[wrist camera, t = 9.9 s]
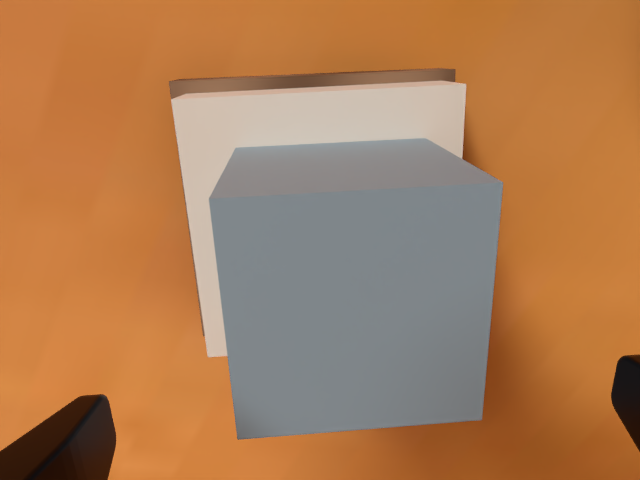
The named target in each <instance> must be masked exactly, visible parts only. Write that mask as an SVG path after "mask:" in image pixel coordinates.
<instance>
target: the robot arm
mask: <svg viewBox="0 0 640 480" xmlns="http://www.w3.org/2000/svg"><path fill="white" fill-rule="evenodd" d="M611 399H612V404H613V406H614V409H615V411H616V412H617V414H618V416H619V417H620V419H621V421H622V423H623V424H624V426H625V428H626V429H627V431H628V433H629V434H630V436H631V438H632V439H633V441H634V443H635V444H636V446H637V448H638V450H639V451H640V355H627V356H623V357H621V358H620V359H619V360H618V363H617V367H616V372H615V377H614V382H613V387H612V392H611ZM115 447H116V432H115V427H114V423H113V418H112V414H111V409H110V404H109V401H108V399H107V397H106V396H105V395H103V394H99V395H85V396H80V397H78V398H76V399H75V400H74V401H72V402H71V403H69V404H68V405H66V406H65V407H63V408H62V409H61V410H59V411H58V412H56V413H55V414H53V415H52V416H50V417H49V418H48V419H46V420H45V421H43V422H42V423H40V424H39V425H38V426H36V427H35V428H33V429H32V430H30V431H29V432H27V433H26V434H25V435H23V436H22V437H20V438H19V439H17V440H16V441H14V442H13V443H12V444H10V445H9V446H7V447H6V448H4V449H3V450H1V451H0V480H108V476H109V472H110V468H111V464H112V459H113V455H114V451H115Z"/></svg>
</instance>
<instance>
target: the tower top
mask: <svg viewBox="0 0 640 480" xmlns="http://www.w3.org/2000/svg"><path fill="white" fill-rule="evenodd" d="M465 99H466V84H463V83H456V82H449V81H423V82H404V83H385V84H365V85H346V86H326V87H307V88H288V89H268V90H249V91H229V92H210V93H190V94H184V95H181V96H179V97H176V98H173V99H171V101H172V108H173V115H174V122H175V130H176V137H177V144H178V151H179V158H180V165H181V172H182V179H183V186H184V193H185V200H186V207H187V214H188V221H189V228H190V235H191V242H192V249H193V256H194V263H195V270H196V277H197V284H198V291H199V298H200V305H201V312H202V319H203V326H204V333H205V340H206V347H207V354H208V357H217V356H228V355H227V347H226V339H225V330H224V322H223V314H222V305H221V297H220V289H219V280H218V272H217V263H216V255H215V247H214V238H213V230H212V222H211V213H210V205H209V197H210V195H211V194H212V192H213V190H214V188H215V186H216V184H217V182H218V180H219V178H220V176H221V175H222V173H223V171H224V169H225V167H226V165H227V163H228V161H229V159H230V157H231V156H232V154H233V152H234V150H235V148H239V147H259V146H279V145H299V144H318V143H338V142H358V141H378V140H398V139H417V138H426V139H428V140H430V141H432V142H433V143H435V144H437V145H439V146H440V147H442V148H444V149H446V150H447V151H449V152H451V153H453V154H454V155H456V156H458V157H460V158H461V159H462V156H463V137H464V118H465Z"/></svg>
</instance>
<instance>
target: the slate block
mask: <svg viewBox="0 0 640 480" xmlns="http://www.w3.org/2000/svg"><path fill="white" fill-rule="evenodd" d="M502 190H503V182H502V181H500V180H498V179H496V178H495V177H493V176H491V175H489V174H488V173H486V172H484V171H482V170H481V169H479V168H477V167H475V166H474V165H472V164H470V163H468V162H467V161H465V160H463V159H461V158H460V157H458V156H456V155H454V154H453V153H451V152H449V151H447V150H446V149H444V148H442V147H440V146H439V145H437V144H435V143H433V142H432V141H430V140H428V139H426V138H417V139H398V140H378V141H358V142H338V143H318V144H299V145H279V146H259V147H239V148H235V150H234V152H233V154H232V156H231V157H230V159H229V161H228V163H227V165H226V167H225V169H224V171H223V173H222V175H221V176H220V178H219V180H218V182H217V184H216V186H215V188H214V190H213V192H212V194H211V195H210V197H209V205H210V213H211V222H212V230H213V238H214V247H215V255H216V263H217V272H218V280H219V289H220V297H221V305H222V314H223V322H224V330H225V339H226V347H227V355H228V364H229V372H230V381H231V389H232V397H233V406H234V414H235V422H236V431H237V439H238V440H239V439H251V438H264V437H276V436H289V435H301V434H314V433H326V432H339V431H351V430H364V429H376V428H389V427H401V426H414V425H427V424H439V423H452V422H464V421H477V420H482V414H483V403H484V392H485V381H486V369H487V358H488V347H489V336H490V325H491V313H492V302H493V291H494V280H495V269H496V257H497V246H498V235H499V224H500V213H501V201H502Z"/></svg>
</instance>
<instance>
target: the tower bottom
mask: <svg viewBox="0 0 640 480" xmlns="http://www.w3.org/2000/svg"><path fill="white" fill-rule="evenodd" d="M455 70H456V69H443V68H434V69H411V70H387V71H363V72H339V73H315V74H292V75H268V76H244V77H220V78H197V79H178V80H174V81H169V86H170V94H171V99H173V98H176V97H179V96H181V95H184V94H190V93H210V92H229V91H249V90H268V89H288V88H307V87H326V86H346V85H365V84H385V83H404V82H423V81H449V82H455ZM173 116H174V115H173ZM174 123H175V122H174ZM175 131H176V130H175ZM176 138H177V137H176ZM177 145H178V144H177ZM178 153H179V151H178ZM179 160H180V158H179ZM180 168H181V165H180ZM181 175H182V172H181ZM182 182H183V179H182ZM183 190H184V186H183ZM184 197H185V193H184ZM185 205H186V200H185ZM186 212H187V207H186ZM187 219H188V214H187ZM188 227H189V221H188ZM189 234H190V228H189ZM190 242H191V235H190ZM191 249H192V242H191ZM192 256H193V249H192ZM193 264H194V271H195V279H196V286H197V294H198V301H199V308H200V316H201V323H202V331H203V336H205V333H204V326H203V319H202V312H201V305H200V298H199V291H198V284H197V277H196V270H195V263H194V256H193Z"/></svg>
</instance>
